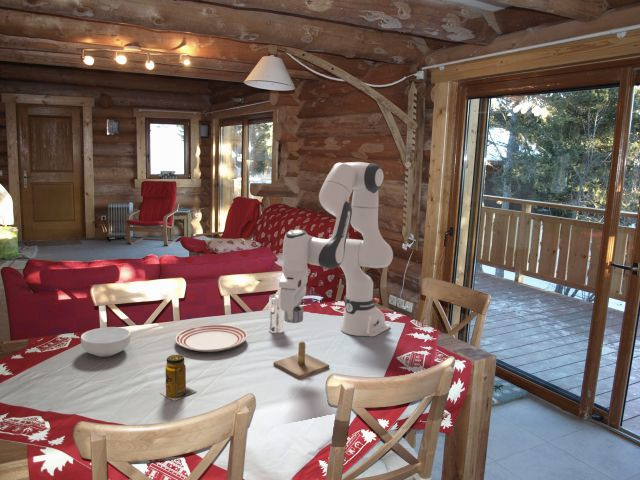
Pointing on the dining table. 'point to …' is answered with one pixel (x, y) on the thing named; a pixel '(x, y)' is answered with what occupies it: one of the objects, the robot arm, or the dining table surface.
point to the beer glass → (275, 314)
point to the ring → (295, 315)
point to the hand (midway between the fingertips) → (293, 315)
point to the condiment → (176, 378)
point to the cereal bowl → (105, 341)
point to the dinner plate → (211, 338)
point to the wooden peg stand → (301, 364)
